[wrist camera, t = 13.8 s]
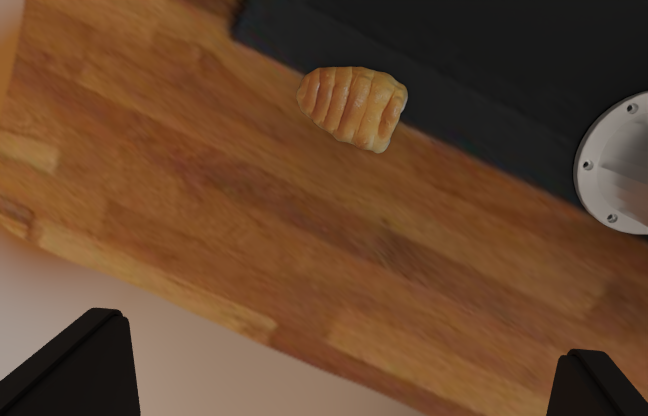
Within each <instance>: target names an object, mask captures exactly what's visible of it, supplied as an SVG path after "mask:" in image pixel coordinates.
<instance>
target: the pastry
mask: <svg viewBox="0 0 648 416" xmlns="http://www.w3.org/2000/svg"><path fill="white" fill-rule="evenodd" d="M407 98H408V93H407V89H406V87H405V86H404V85H403V84H400V83H399V82H397V81H396V80H395V79H394V78H393V77H392V76H391V75H389V74H387V73H385V72H377V71H374V70H370V69H367V68H364V67H326V68H317V69H316V70H314V71H312V72H311V73H309V74H307V75H306V76H305V77H304V78H303V80H302V82H301V84H300V87H299V89H298V91H297V94H296V99H297V101H298V103H299V106H300V108H301V111H302V112H303V113H304V114H305V115H307V116H308V117H309V118H311V119H312V121H313V122H314V123H315V124H317V125H318V126H319V127H320V128H322V129H324V130H325V131H327V132H329V133H331V134H332V135H333V136H334V137H335V138H336V139H337V140H338V141H341V142H348V143H350V144H353V145H355V146H356V147H357V148H359V149H363V150H372V151H374V152H375V153H382V152H384V151H385V150H386V148H387V147H388V145H389V143H390V140H391V135H392V133H393V131H394V129H395V127H396V125H397V123H398V120H399V118H400V113H401V112H402V111H403V109H404V107H405V104H406V102H407Z"/></svg>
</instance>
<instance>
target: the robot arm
mask: <svg viewBox="0 0 648 416" xmlns="http://www.w3.org/2000/svg"><path fill="white" fill-rule="evenodd" d="M628 106H629V109H628V110H627V107H628ZM585 162H586V165H585V166H583V164H584V163H585ZM573 181H574V185H575V190H576V193H577V195H578V197H579V199H580V202H581V204H582V205H583V206H584V207H585V209H586V210H587V211H588V212H589V213H590V214H591V215H592V216H593V217H594V218H596V219H597V220H598V221H600V222H601V223H603V224H605V225H606V226H608V227H610V228H613V229H615V230H618V231H620V232H625V233H631V234H648V91H644V92H640V93H638V94H635V95H632V96H630V97H627V98H625V99H623V100H622V101H620V102H618V103H617V104H615V105H613V106H612V107H610V108H609V109H608V110H607V111H605V112H604V113H603V114H602V115H601V116H599V118H598V119H597V120H596V121H595V122H594V123H593V124H592V125H591V127H590V128H589V129H588V131H587V132H586V134H585V136H584V137H583V139H582V140H581V143H580V145H579V148H578V150H577V153H576V156H575V161H574V166H573ZM609 215H610V216H609ZM608 216H609V217H608ZM0 416H140V405H139V397H138V389H137V381H136V373H135V365H134V358H133V350H132V342H131V335H130V326H129V321H128V319H127V318H126V317H123V315H122V313H121V311H119V310H117V309H106V308H91V309H90V310H88V311H87V312H85V313H84V314H83V315H82V316H81V317H79V318H78V319H77V320H75V321H74V322H73V323H72V324H71V325H69V326H68V327H67V328H66V329H64V330H63V331H62V332H61V333H59V334H58V335H57V336H56V337H55V338H53V339H52V340H51V341H49V342H48V343H47V344H46V345H45V346H43V347H42V348H41V349H40V350H38V351H37V352H36V353H35V354H33V355H32V356H31V357H30V358H28V359H27V360H26V361H25V362H23V363H22V364H21V365H20V366H19V367H17V368H16V369H15V370H14V371H12V372H11V373H10V374H9V375H7V376H6V377H5V378H4V379H2V380H1V381H0ZM546 416H648V403H647V401H646V400H645V399H644V398H643V397H642V395H641V394H640V393H639V392H638V391H637V389H636V388H635V387H634V386H633V385H632V384H631V382H630V381H629V380H628V379H627V378H626V376H625V375H624V374H623V373H622V372H621V370H620V369H619V368H618V367H617V366H616V364H615V363H614V362H613V361H612V360H611V358H610V357H609V356H608V355H607V354H606V353H605V352H602V351H595V350H583V349H571V350H570V351H569V352H568V354H567V355H562V356H560V358H559V360H558V364H557V368H556V373H555V377H554V382H553V386H552V391H551V396H550V400H549V405H548V409H547V414H546Z"/></svg>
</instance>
